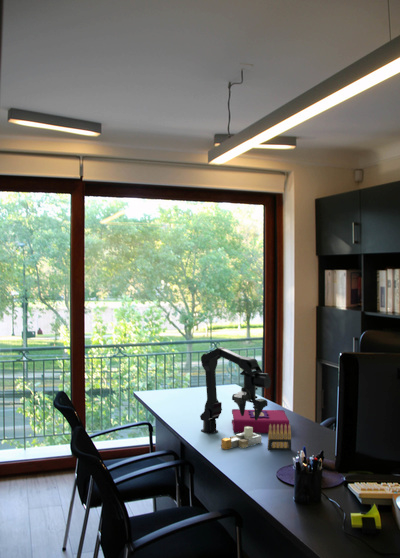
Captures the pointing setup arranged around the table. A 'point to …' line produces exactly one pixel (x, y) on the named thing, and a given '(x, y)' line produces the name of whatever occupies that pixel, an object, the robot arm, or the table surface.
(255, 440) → the socket
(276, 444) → the ammunition clip
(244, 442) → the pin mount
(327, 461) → the table surface
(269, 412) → the book
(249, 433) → the cream tapered cylinder
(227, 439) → the pin
